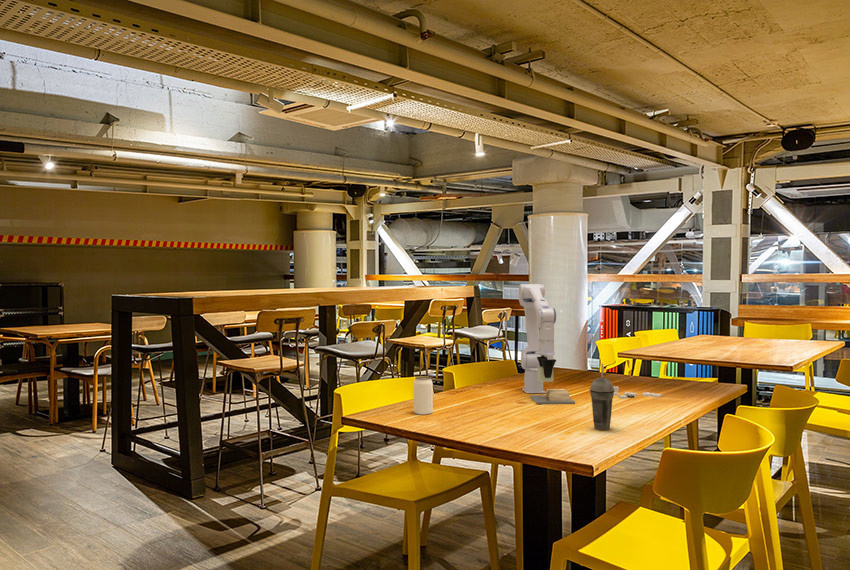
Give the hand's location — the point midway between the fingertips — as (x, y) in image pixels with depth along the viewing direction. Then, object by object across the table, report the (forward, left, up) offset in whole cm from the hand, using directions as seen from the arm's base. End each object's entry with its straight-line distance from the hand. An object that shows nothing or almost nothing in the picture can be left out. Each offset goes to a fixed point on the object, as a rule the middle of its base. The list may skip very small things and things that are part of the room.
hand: (546, 376), depth 236 cm
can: (+20, -47, -9) cm, 52 cm away
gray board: (0, +2, -9) cm, 9 cm away
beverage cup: (+44, +7, -9) cm, 46 cm away
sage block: (0, 0, -2) cm, 2 cm away
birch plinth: (0, +4, -9) cm, 10 cm away
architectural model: (-9, +32, -10) cm, 35 cm away
